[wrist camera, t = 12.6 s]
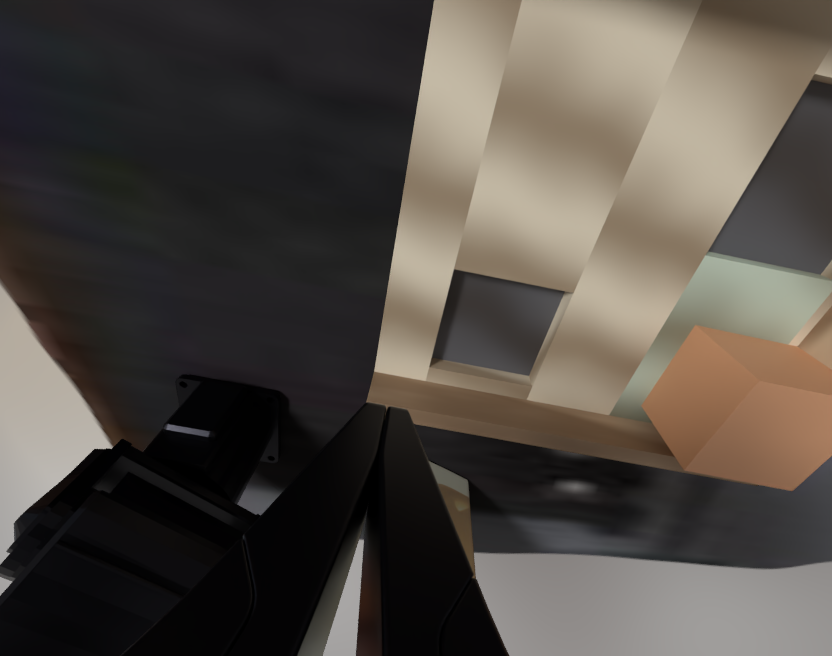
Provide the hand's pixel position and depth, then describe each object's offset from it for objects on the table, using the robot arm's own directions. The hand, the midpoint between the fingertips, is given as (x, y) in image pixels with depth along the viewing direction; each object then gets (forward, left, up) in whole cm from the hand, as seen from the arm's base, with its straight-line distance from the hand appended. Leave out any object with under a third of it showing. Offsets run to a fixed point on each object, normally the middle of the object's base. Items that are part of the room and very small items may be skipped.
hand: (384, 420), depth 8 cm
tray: (+1, -10, -13) cm, 16 cm away
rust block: (-4, -17, -12) cm, 21 cm away
